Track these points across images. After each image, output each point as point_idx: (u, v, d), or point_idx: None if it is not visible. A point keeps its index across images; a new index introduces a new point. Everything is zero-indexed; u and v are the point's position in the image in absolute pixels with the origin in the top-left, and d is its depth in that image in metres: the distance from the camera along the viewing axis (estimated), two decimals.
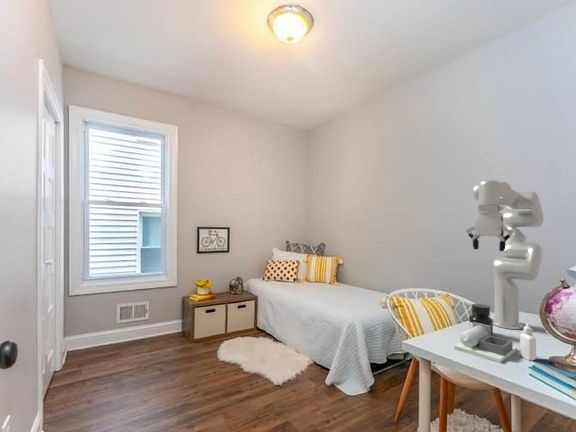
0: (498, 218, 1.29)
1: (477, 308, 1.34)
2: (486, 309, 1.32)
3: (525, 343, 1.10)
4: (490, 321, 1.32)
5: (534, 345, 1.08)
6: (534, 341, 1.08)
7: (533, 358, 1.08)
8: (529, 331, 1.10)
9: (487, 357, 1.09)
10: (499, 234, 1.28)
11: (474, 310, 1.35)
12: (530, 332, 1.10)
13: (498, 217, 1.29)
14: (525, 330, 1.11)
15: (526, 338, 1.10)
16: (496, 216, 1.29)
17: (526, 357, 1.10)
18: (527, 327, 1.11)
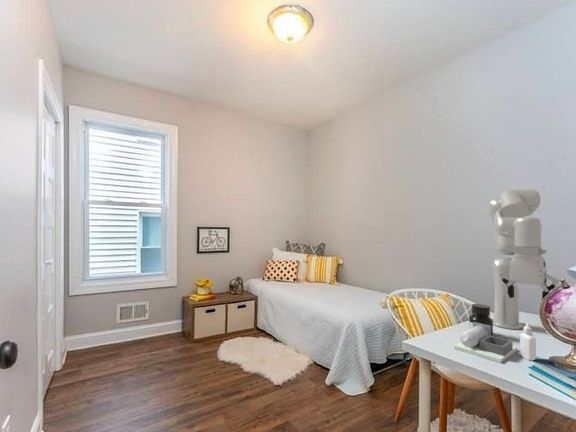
0: (540, 264, 1.07)
1: (477, 308, 1.34)
2: (486, 309, 1.32)
3: (525, 343, 1.10)
4: (490, 321, 1.32)
5: (534, 345, 1.08)
6: (534, 341, 1.08)
7: (533, 358, 1.08)
8: (529, 331, 1.10)
9: (487, 357, 1.09)
10: (542, 283, 1.07)
11: (474, 310, 1.35)
12: (530, 332, 1.10)
13: (540, 262, 1.08)
14: (525, 330, 1.11)
15: (526, 338, 1.10)
16: (538, 261, 1.08)
17: (526, 357, 1.10)
18: (527, 327, 1.11)
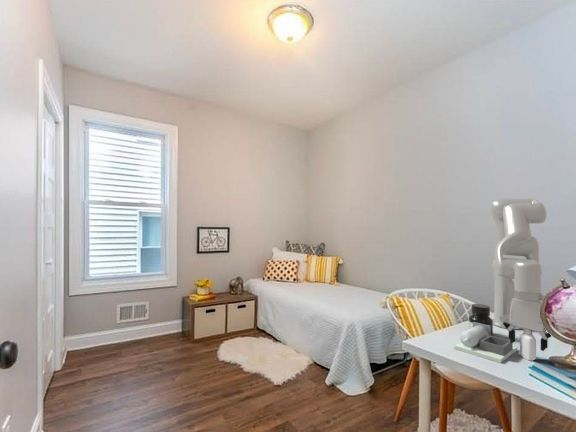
0: None
1: (477, 308, 1.34)
2: (486, 309, 1.32)
3: (525, 343, 1.10)
4: (490, 321, 1.32)
5: (534, 345, 1.08)
6: (534, 341, 1.08)
7: (533, 358, 1.08)
8: (529, 331, 1.10)
9: (487, 357, 1.09)
10: (542, 330, 1.07)
11: (474, 310, 1.35)
12: (530, 332, 1.10)
13: None
14: (525, 330, 1.11)
15: (526, 338, 1.10)
16: (538, 307, 1.08)
17: (526, 357, 1.10)
18: None
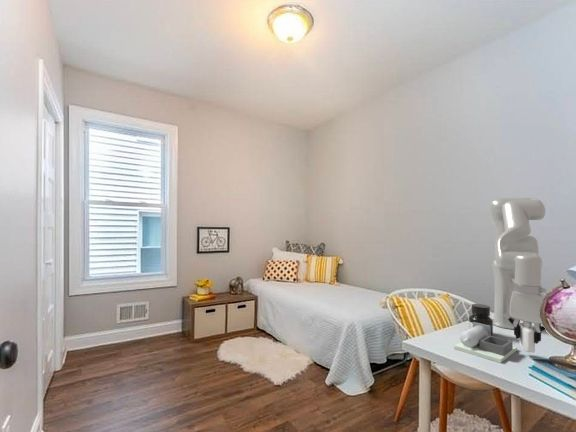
0: (540, 303, 1.07)
1: (477, 308, 1.34)
2: (486, 309, 1.32)
3: (524, 336, 1.11)
4: (490, 321, 1.32)
5: (533, 337, 1.09)
6: (533, 333, 1.09)
7: (532, 350, 1.10)
8: (528, 324, 1.11)
9: (487, 357, 1.09)
10: None
11: (474, 310, 1.35)
12: (529, 325, 1.11)
13: (540, 302, 1.08)
14: (524, 323, 1.12)
15: (525, 330, 1.11)
16: (538, 300, 1.08)
17: (525, 349, 1.11)
18: None
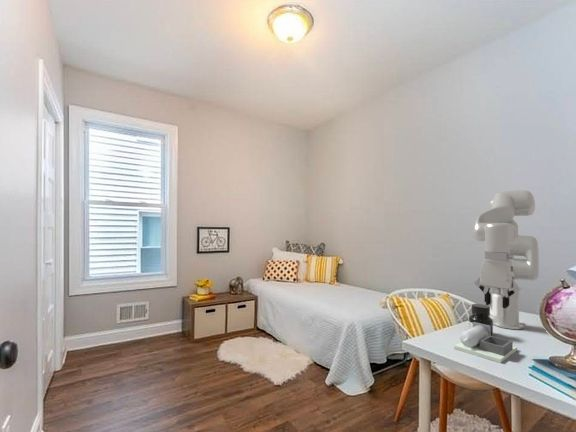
0: (508, 268, 1.12)
1: (477, 308, 1.34)
2: (486, 309, 1.32)
3: (493, 301, 1.15)
4: (490, 321, 1.32)
5: (502, 302, 1.13)
6: (502, 299, 1.13)
7: (500, 315, 1.13)
8: (497, 290, 1.15)
9: (487, 357, 1.09)
10: (509, 287, 1.11)
11: (474, 310, 1.35)
12: (498, 290, 1.15)
13: (508, 267, 1.12)
14: (494, 289, 1.16)
15: (494, 296, 1.15)
16: (506, 266, 1.12)
17: (494, 314, 1.15)
18: None
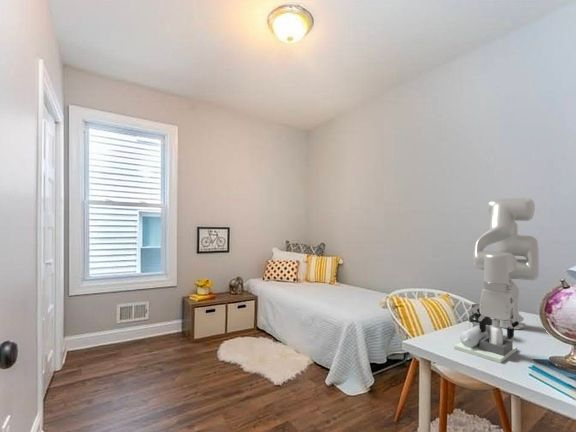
0: (507, 300, 1.11)
1: None
2: None
3: (492, 335, 1.15)
4: (490, 321, 1.32)
5: (501, 336, 1.13)
6: (501, 332, 1.13)
7: None
8: (497, 323, 1.15)
9: (487, 357, 1.09)
10: (508, 319, 1.11)
11: None
12: (498, 324, 1.15)
13: (507, 299, 1.11)
14: (493, 322, 1.16)
15: (494, 329, 1.15)
16: (505, 297, 1.12)
17: None
18: (495, 319, 1.16)
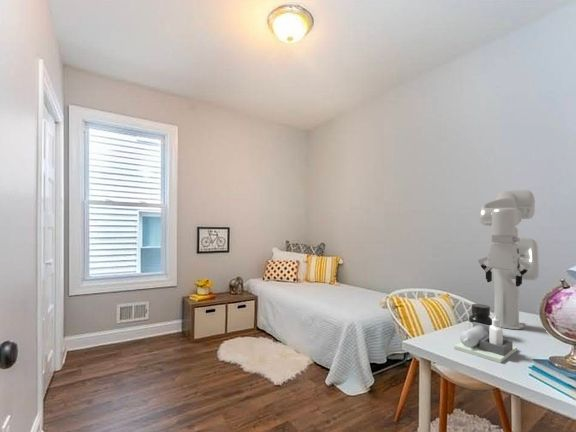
0: (514, 251, 1.17)
1: (477, 308, 1.34)
2: (486, 309, 1.32)
3: (492, 335, 1.15)
4: (490, 321, 1.32)
5: (501, 336, 1.13)
6: (501, 332, 1.13)
7: None
8: (497, 323, 1.15)
9: (487, 357, 1.09)
10: (515, 268, 1.17)
11: (474, 310, 1.35)
12: (497, 324, 1.15)
13: (514, 249, 1.18)
14: (493, 322, 1.16)
15: (494, 329, 1.15)
16: (512, 248, 1.18)
17: None
18: (495, 319, 1.16)
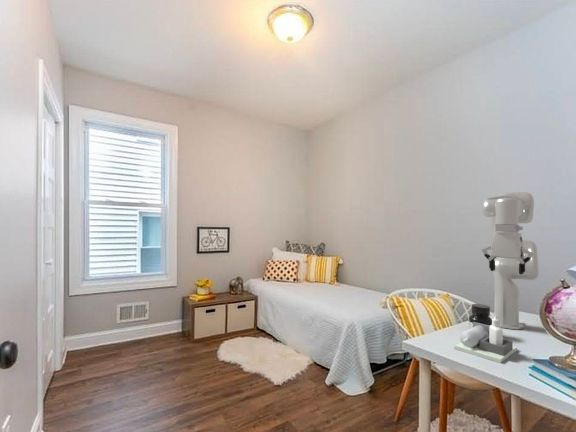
0: (517, 239, 1.20)
1: (477, 308, 1.34)
2: (486, 309, 1.32)
3: (492, 335, 1.15)
4: (490, 321, 1.32)
5: (501, 336, 1.13)
6: (501, 332, 1.13)
7: None
8: (497, 323, 1.15)
9: (487, 357, 1.09)
10: (518, 256, 1.20)
11: (474, 310, 1.35)
12: (497, 324, 1.15)
13: (517, 238, 1.20)
14: (493, 322, 1.16)
15: (494, 329, 1.15)
16: (515, 236, 1.21)
17: None
18: (495, 319, 1.16)
